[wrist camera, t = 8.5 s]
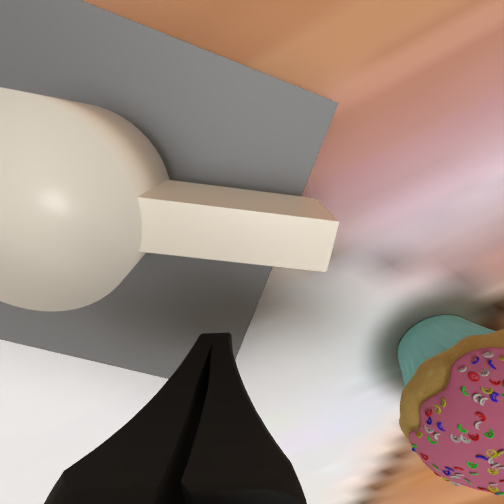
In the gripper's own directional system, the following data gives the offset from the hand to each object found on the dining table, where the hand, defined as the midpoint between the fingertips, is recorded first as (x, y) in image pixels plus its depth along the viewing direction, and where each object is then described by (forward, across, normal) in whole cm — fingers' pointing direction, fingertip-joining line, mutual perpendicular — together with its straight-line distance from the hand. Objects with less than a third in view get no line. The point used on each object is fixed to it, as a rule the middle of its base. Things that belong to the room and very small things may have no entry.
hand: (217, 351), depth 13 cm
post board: (+4, +4, -5) cm, 7 cm away
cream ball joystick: (+1, +2, -7) cm, 7 cm away
